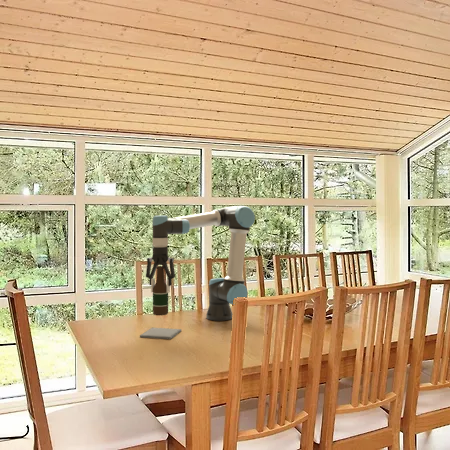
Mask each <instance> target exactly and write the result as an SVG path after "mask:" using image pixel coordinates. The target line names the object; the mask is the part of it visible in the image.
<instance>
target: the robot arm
mask: <svg viewBox="0 0 450 450" xmlns="http://www.w3.org/2000/svg"><path fill="white" fill-rule="evenodd" d="M255 217H256V216H255V213H254V211H253V210H252V209H251V207H249V206H246V205H231V206H225V207H222V208H217V209H213V210H212V211H210V212H204V213H203V212H202V213H196V214H190V215H183V216H177V217H170V218H168V215H154V216H152V224H151V225H152V246H153V247H152V256H151V257H147V258H146V270H145V277H146V278H148V281H149V286H150V293H153V288H154V285H155V284H156V281H155V280H156V279H155V278H154V277H155V274H156V272H157V267H158V266H163V267H164V273H165V275H166V277H167V278H166V285H167V293H168V294H169V293H170V292H171V286H172V283H173V281H172V280H173V279H174V278H176V271H175V264H174V261H175V258H174V257H173V258H172V257H169V247H168V246H169V244H168V243H169V241H168V240H169V238H168V237H169V235H183V234H188V233H189V232H190V230H191V229H199V228H204V227H210V226H211V227H212V226H214V227H221V226H222V227H228V230H229V232H230V239H229V240H230V241H229V243H230V244H229V252H228V259H227V261H228V262H227V269H226V272H227V273H226V276H225V277H217V278H211V279H209V282H208V283H209V284H208V289H209V290H208V294H209V297H208V298H209V300H208V302H209V303H208V307H207V311H206V315H205V316H206V317H205V318H206V319H207V320H209V321H215V322H216V321H217V322H218V321H229V320H230V321H231V320H232V319H233V318H232V315H233V311H232V308H231V305H234V304H233V300H234V298H237V297H246V298H248V291H249V290H248V288H247V286H246V285H245V279H244V278H243V273H244V262H245V253H246V242H247V234H248V233H249V232H250V229H251V227H252V226H253V225H254V223H255V220H256V218H255ZM152 262H153V266H152ZM167 262H168V263H169V266H168V263H167ZM151 268H152V269H151Z"/></svg>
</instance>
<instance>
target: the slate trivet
mask: <svg viewBox="0 0 450 450" xmlns="http://www.w3.org/2000/svg"><path fill="white" fill-rule="evenodd" d="M181 332H182V329H181V328H165V327H150V328H149V329H147V330H146V331H144V332H143V333H141V334H140V335H139V338H144V339H158V340H159V339H161V340H162V339H163V340H172V339H174V337H176V336H177V335H179V334H180V333H181Z"/></svg>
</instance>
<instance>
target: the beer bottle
mask: <svg viewBox="0 0 450 450" xmlns="http://www.w3.org/2000/svg"><path fill="white" fill-rule="evenodd" d="M155 280H156V281H155V285H154V288H153V292H152V314H153V315H154V316H167V315H168V314H169V293H167V282H166V281H165V269H164V267H163V265H158V266H157V268H156V279H155Z"/></svg>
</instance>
